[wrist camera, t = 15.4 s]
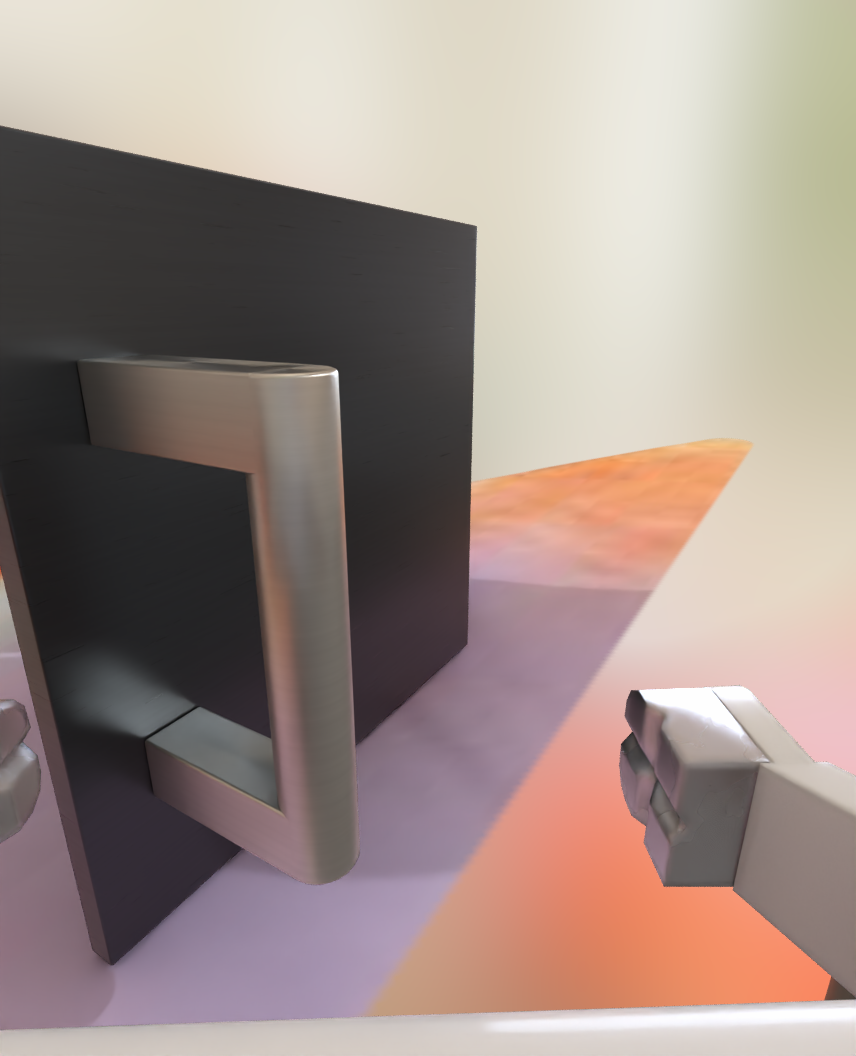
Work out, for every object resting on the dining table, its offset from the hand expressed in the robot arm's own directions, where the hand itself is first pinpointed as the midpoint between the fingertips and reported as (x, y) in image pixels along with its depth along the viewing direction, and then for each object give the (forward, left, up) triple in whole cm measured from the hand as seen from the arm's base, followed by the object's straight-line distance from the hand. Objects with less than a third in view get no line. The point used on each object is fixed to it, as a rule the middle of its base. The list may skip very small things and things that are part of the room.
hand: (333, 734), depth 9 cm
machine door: (-3, -9, -9) cm, 13 cm away
